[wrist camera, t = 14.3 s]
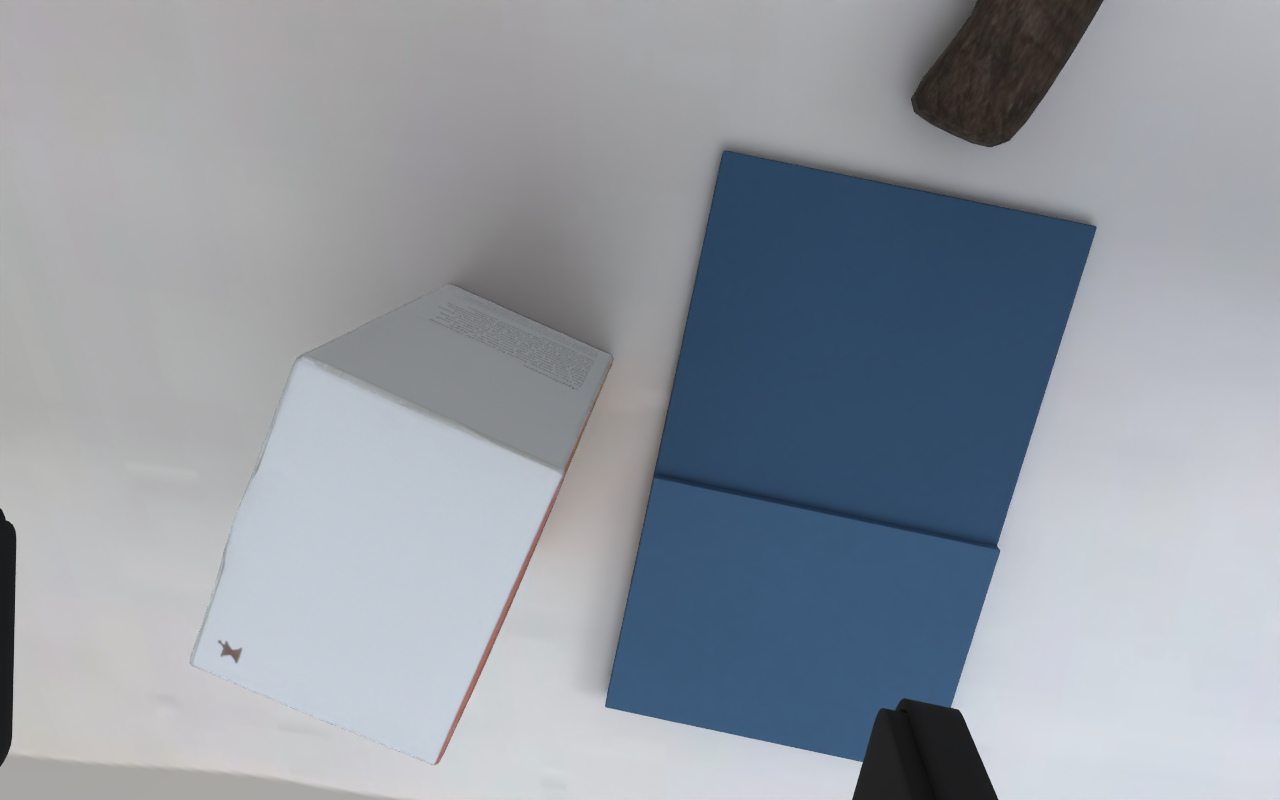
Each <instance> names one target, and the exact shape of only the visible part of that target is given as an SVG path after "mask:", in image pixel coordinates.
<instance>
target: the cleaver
mask: <svg viewBox="0 0 1280 800" xmlns="http://www.w3.org/2000/svg"><path fill="white" fill-rule="evenodd" d="M1102 2H1103V0H978V1H977V4H976V6H975V8H974V10H973V12H972V14H971V16H970V17H969V18H968V20H967V21H966V23H965V24H964V25H963V27H962V28H961V30H960V31H959V32H958V34H957V35H956V37H955V38H954V39H953V41H952V42H951V43H950V45H949V46H948V48H947V49H946V50H945V51H944V53H943V54H942V55H941V56H940V58H939V59H938V60H937V61H936V63H935V64H934V65H933V66H932V68H931V69H930V70H929V71H928V73H927V74H926V75H925V76H924V78H923V79H922V81H921V82H920V84H919V86H918V88H917V90H916V91H915V93H914V95H913V97H912V98H911V101H912V105H913V109H914V112H915V113H916V114H918V115H919V116H920V117H922V118H923V119H925V120H926V121H927V122H929V123H930V124H932V125H934V126H936V127H938V128H940V129H942V130H944V131H946V132H948V133H950V134H953V135H955V136H957V137H959V138H962V139H964V140H966V141H968V142H971V143H974V144H978V145H982V146H986V147H993V146H996V145H999V144H1002V143H1005V142H1007V141H1009V140H1010V139H1011V138H1012V137H1013V136H1014V135H1015V134H1016V133H1017V132H1018V130H1019V129H1020V128H1021V127H1022V126H1023V125H1024V124H1025V123H1026V121H1027V120H1028V119H1029V117H1030V116H1031V114H1032V113H1033V111H1034V110H1035V109H1036V107H1037V106H1038V104H1039V103H1040V102H1041V100H1042V99H1043V97H1044V96H1045V94H1046V93H1047V92H1048V90H1049V89H1050V87H1051V85H1052V84H1053V82H1054V81H1055V79H1056V78H1057V76H1058V75H1059V73H1060V71H1061V70H1062V68H1063V67H1064V65H1065V64H1066V62H1067V61H1068V59H1069V57H1070V56H1071V54H1072V53H1073V51H1074V49H1075V48H1076V46H1077V44H1078V43H1079V41H1080V39H1081V38H1082V36H1083V34H1084V33H1085V31H1086V29H1087V28H1088V26H1089V24H1090V23H1091V21H1092V19H1093V18H1094V16H1095V14H1096V12H1097V11H1098V9H1099V7H1100V5H1101V3H1102Z"/></svg>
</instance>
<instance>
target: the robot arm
mask: <svg viewBox="0 0 1280 800" xmlns="http://www.w3.org/2000/svg"><path fill="white" fill-rule="evenodd" d="M15 576H16V531H15V529H14V527H13V525H12V524H11V523H10V522H9V521H6V519H5V516H4V514H3V511H2V509H0V766H1V765H2V763H3V762H4V760H5V758H6V756H7V754H8V752H9V749H10V746H11V740H12V716H13V669H14V623H15ZM852 800H998V798H997V795H996V793H995V791H994V788H993V786H992V784H991V781H990V779H989V777H988V774H987V772H986V770H985V767H984V765H983V762H982V760H981V758H980V755H979V753H978V751H977V748H976V746H975V744H974V741H973V739H972V737H971V734H970V732H969V730H968V727H967V725H966V722H965V720H964V718H963V715H962V714H961V712H960V711H959V710H957V709H953V708H949V707H944V706H939V705H935V704H930V703H925V702H921V701H916V700H911V699H906V698H903V699H902V700H901V701H900V702H899V704H898V705H897V707H896V710H890V709H886V708H881V709H880V710H879V712H878V714H877V716H876V719H875V722H874V725H873V728H872V732H871V735H870V739H869V743H868V746H867V750H866V753H865V757H864V760H863V764H862V767H861V771H860V774H859V778H858V781H857V785H856V788H855V792H854V796H853V799H852Z"/></svg>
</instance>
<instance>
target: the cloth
mask: <svg viewBox="0 0 1280 800" xmlns="http://www.w3.org/2000/svg"><path fill="white" fill-rule="evenodd" d="M1095 231H1096V226H1092V225H1087V224H1082V223H1077V222H1072V221H1067V220H1062V219H1058V218H1053V217H1048V216H1043V215H1038V214H1033V213H1028V212H1023V211H1018V210H1014V209H1009V208H1004V207H999V206H994V205H989V204H984V203H979V202H974V201H970V200H965V199H960V198H955V197H950V196H945V195H940V194H935V193H931V192H926V191H921V190H916V189H911V188H906V187H901V186H896V185H891V184H887V183H882V182H877V181H872V180H867V179H862V178H857V177H852V176H847V175H843V174H838V173H833V172H828V171H823V170H818V169H813V168H808V167H803V166H799V165H794V164H789V163H784V162H779V161H774V160H769V159H764V158H759V157H755V156H750V155H745V154H740V153H735V152H730V151H723V153H722V158H721V162H720V167H719V172H718V177H717V181H716V186H715V191H714V195H713V200H712V205H711V209H710V214H709V219H708V224H707V228H706V233H705V238H704V242H703V247H702V252H701V256H700V261H699V266H698V270H697V275H696V280H695V285H694V289H693V294H692V299H691V303H690V308H689V313H688V317H687V322H686V327H685V332H684V336H683V341H682V346H681V350H680V355H679V360H678V364H677V369H676V374H675V378H674V383H673V388H672V393H671V397H670V402H669V407H668V411H667V416H666V421H665V425H664V430H663V435H662V440H661V444H660V449H659V454H658V458H657V463H656V468H655V472H654V477H653V482H652V487H651V491H650V496H649V501H648V505H647V510H646V515H645V519H644V524H643V529H642V533H641V538H640V543H639V548H638V552H637V557H636V562H635V566H634V571H633V576H632V580H631V585H630V590H629V595H628V599H627V604H626V609H625V613H624V618H623V623H622V627H621V632H620V637H619V641H618V646H617V651H616V656H615V660H614V665H613V670H612V674H611V679H610V684H609V688H608V693H607V699H606V704H605V707H607V708H612V709H617V710H621V711H626V712H631V713H636V714H640V715H645V716H650V717H654V718H659V719H664V720H668V721H673V722H678V723H682V724H687V725H692V726H697V727H701V728H706V729H711V730H715V731H720V732H725V733H729V734H734V735H739V736H744V737H748V738H753V739H758V740H762V741H767V742H772V743H776V744H781V745H786V746H790V747H795V748H800V749H805V750H809V751H814V752H819V753H823V754H828V755H833V756H837V757H842V758H847V759H851V760H856V761H861V762H863V760H864V757H865V753H866V750H867V746H868V743H869V739H870V735H871V732H872V728H873V725H874V722H875V719H876V716H877V714H878V712H879V710H880V709H881V708H886V709H890V710H896V707H897V705H898V704H899V702H900V701H901V700H902V699H903V698H906V699H911V700H916V701H921V702H925V703H930V704H935V705H939V706H944V707H949V708H951V705H952V702H953V698H954V695H955V692H956V689H957V686H958V683H959V679H960V676H961V673H962V670H963V667H964V664H965V660H966V657H967V654H968V651H969V648H970V645H971V641H972V638H973V635H974V632H975V629H976V626H977V622H978V619H979V616H980V613H981V610H982V607H983V603H984V600H985V597H986V594H987V591H988V587H989V584H990V581H991V578H992V575H993V572H994V568H995V565H996V562H997V559H998V556H999V553H1000V550H999V548H998V547H997V543H998V540H999V537H1000V534H1001V530H1002V527H1003V524H1004V521H1005V518H1006V515H1007V511H1008V508H1009V505H1010V502H1011V499H1012V495H1013V492H1014V489H1015V486H1016V483H1017V480H1018V476H1019V473H1020V470H1021V467H1022V464H1023V460H1024V457H1025V454H1026V451H1027V448H1028V445H1029V441H1030V438H1031V435H1032V432H1033V429H1034V425H1035V422H1036V419H1037V416H1038V413H1039V410H1040V406H1041V403H1042V400H1043V397H1044V394H1045V390H1046V387H1047V384H1048V381H1049V378H1050V375H1051V371H1052V368H1053V365H1054V362H1055V359H1056V355H1057V352H1058V349H1059V346H1060V343H1061V339H1062V336H1063V333H1064V330H1065V327H1066V324H1067V320H1068V317H1069V314H1070V311H1071V308H1072V304H1073V301H1074V298H1075V295H1076V292H1077V289H1078V285H1079V282H1080V279H1081V276H1082V273H1083V269H1084V266H1085V263H1086V260H1087V257H1088V254H1089V250H1090V247H1091V244H1092V241H1093V238H1094V234H1095Z"/></svg>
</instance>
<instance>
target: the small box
mask: <svg viewBox="0 0 1280 800" xmlns="http://www.w3.org/2000/svg"><path fill="white" fill-rule="evenodd" d="M612 362H613V357H612V356H611V355H610V354H608V353H605V352H603V351H601V350H599V349H596V348H594V347H592V346H589V345H587V344H585V343H583V342H580V341H578V340H576V339H574V338H571V337H569V336H567V335H565V334H562V333H560V332H558V331H556V330H553V329H551V328H549V327H547V326H544V325H542V324H540V323H537V322H535V321H533V320H531V319H528V318H526V317H524V316H522V315H519V314H517V313H515V312H513V311H510V310H508V309H506V308H504V307H501V306H499V305H497V304H495V303H493V302H490V301H488V300H486V299H484V298H481V297H479V296H477V295H475V294H472V293H470V292H468V291H466V290H463V289H461V288H459V287H457V286H454V285H451V284H447V285H445V286H443V287H441V288H439V289H437V290H435V291H433V292H431V293H429V294H427V295H425V296H422V297H420V298H418V299H416V300H414V301H412V302H410V303H408V304H406V305H404V306H402V307H400V308H398V309H396V310H394V311H392V312H390V313H387V314H385V315H383V316H381V317H379V318H377V319H375V320H373V321H371V322H369V323H367V324H365V325H363V326H361V327H359V328H357V329H355V330H353V331H351V332H348V333H346V334H344V335H342V336H340V337H338V338H336V339H334V340H332V341H330V342H328V343H326V344H324V345H322V346H320V347H317V348H315V349H313V350H311V351H308V352H306V353H304V354H302V355H301V356H299V357H298V358H297V359H296V361H295V362H294V364H293V366H292V369H291V372H290V374H289V377H288V380H287V382H286V385H285V387H284V390H283V392H282V395H281V398H280V401H279V403H278V406H277V409H276V411H275V414H274V417H273V419H272V422H271V425H270V427H269V430H268V433H267V436H266V439H265V442H264V444H263V447H262V450H261V452H260V455H259V458H258V460H257V463H256V466H255V469H254V472H253V474H252V477H251V479H250V482H249V484H248V487H247V489H246V492H245V494H244V496H243V499H242V501H241V503H240V505H239V508H238V510H237V513H236V516H235V519H234V522H233V525H232V528H231V531H230V534H229V538H228V540H227V543H226V546H225V549H224V553H223V558H222V562H221V566H220V570H219V573H218V576H217V579H216V582H215V585H214V588H213V591H212V595H211V598H210V601H209V603H208V606H207V609H206V612H205V615H204V619H203V622H202V625H201V628H200V631H199V633H198V636H197V639H196V642H195V645H194V648H193V651H192V654H191V658H190V664H191V666H193V667H196V668H199V669H201V670H204V671H207V672H209V673H212V674H214V675H216V676H218V677H221V678H223V679H225V680H227V681H230V682H232V683H234V684H236V685H239V686H241V687H243V688H246V689H248V690H250V691H253V692H255V693H257V694H260V695H262V696H265V697H267V698H269V699H272V700H274V701H277V702H279V703H281V704H284V705H286V706H289V707H291V708H293V709H296V710H298V711H301V712H303V713H306V714H308V715H310V716H313V717H315V718H318V719H320V720H322V721H325V722H327V723H330V724H333V725H335V726H337V727H340V728H342V729H345V730H347V731H350V732H353V733H355V734H357V735H360V736H362V737H364V738H367V739H369V740H372V741H374V742H376V743H379V744H381V745H384V746H386V747H389V748H391V749H394V750H396V751H399V752H401V753H404V754H407V755H410V756H412V757H414V758H417V759H419V760H421V761H423V762H426V763H428V764H431V765H436V764H437V763H439V761H440V760H441V758H442V756H443V754H444V752H445V750H446V748H447V746H448V744H449V741H450V739H451V737H452V735H453V733H454V730H455V728H456V726H457V724H458V722H459V720H460V718H461V715H462V713H463V711H464V709H465V707H466V705H467V703H468V701H469V698H470V696H471V694H472V692H473V690H474V688H475V685H476V683H477V681H478V679H479V677H480V674H481V672H482V670H483V668H484V665H485V663H486V661H487V659H488V656H489V654H490V652H491V650H492V647H493V645H494V643H495V640H496V638H497V636H498V634H499V631H500V629H501V627H502V624H503V622H504V620H505V618H506V615H507V613H508V611H509V608H510V606H511V604H512V601H513V599H514V597H515V595H516V592H517V590H518V587H519V585H520V583H521V581H522V578H523V576H524V574H525V571H526V569H527V567H528V564H529V562H530V559H531V557H532V555H533V552H534V550H535V548H536V545H537V543H538V540H539V538H540V535H541V533H542V531H543V528H544V526H545V524H546V521H547V519H548V517H549V514H550V512H551V510H552V507H553V505H554V503H555V500H556V497H557V495H558V492H559V489H560V487H561V484H562V482H563V480H564V477H565V474H566V472H567V469H568V467H569V465H570V462H571V460H572V458H573V455H574V453H575V450H576V448H577V446H578V443H579V441H580V439H581V436H582V434H583V431H584V429H585V427H586V424H587V422H588V419H589V417H590V415H591V412H592V410H593V407H594V405H595V403H596V400H597V398H598V395H599V393H600V391H601V388H602V386H603V383H604V381H605V379H606V376H607V374H608V372H609V370H610V368H611V366H612Z"/></svg>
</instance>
